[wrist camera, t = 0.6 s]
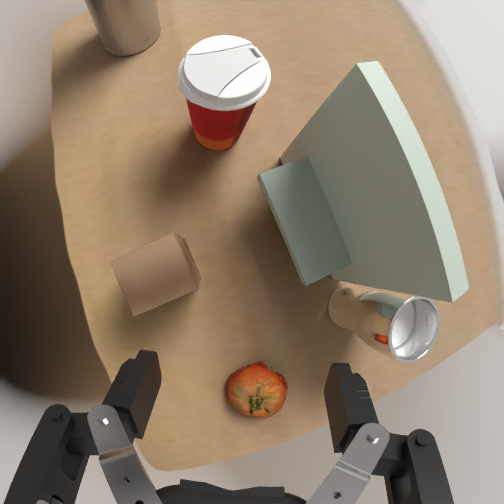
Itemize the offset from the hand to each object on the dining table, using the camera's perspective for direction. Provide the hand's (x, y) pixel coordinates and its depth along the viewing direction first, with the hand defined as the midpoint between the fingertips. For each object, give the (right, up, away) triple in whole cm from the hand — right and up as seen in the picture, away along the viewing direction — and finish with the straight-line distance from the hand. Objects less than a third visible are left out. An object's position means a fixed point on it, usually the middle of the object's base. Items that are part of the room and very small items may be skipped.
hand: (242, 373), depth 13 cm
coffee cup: (-4, +21, +24) cm, 32 cm away
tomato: (+1, -12, +24) cm, 27 cm away
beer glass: (+13, -2, +26) cm, 29 cm away
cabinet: (-9, +4, +23) cm, 25 cm away
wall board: (+7, +10, +25) cm, 28 cm away
